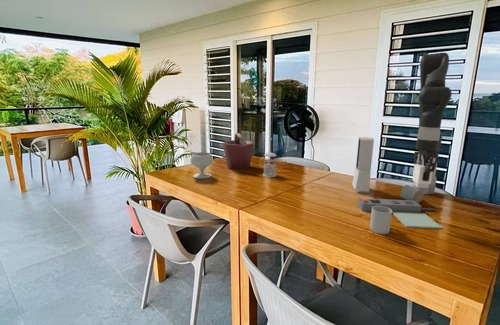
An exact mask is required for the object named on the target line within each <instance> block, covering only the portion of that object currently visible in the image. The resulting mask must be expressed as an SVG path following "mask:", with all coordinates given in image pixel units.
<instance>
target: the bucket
mask: <svg viewBox="0 0 500 325" xmlns="http://www.w3.org/2000/svg"><path fill="white" fill-rule="evenodd" d="M222 147H223V152H224V156H225V162H226V166H227V168H228V169H230V170H237V171H238V170H239V171H242V170H248V169H250V166H251V162H252V156H253V152H254V141H253V140H252V141H251V140H246V139H244V137H243V135H242V134H241V133H239V132H237V133H235V134H234V140H233V139H232V140H226V141H223V142H222Z"/></svg>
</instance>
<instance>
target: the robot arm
mask: <svg viewBox="0 0 500 325" xmlns="http://www.w3.org/2000/svg"><path fill="white" fill-rule="evenodd" d="M419 62H420V63H419V74H420V76H419V77H420V92H419V94H418V102H419V104H418V105H419V108H418V109H419V110H418V111H419V112H418V116H419V117H418V130H417V137H416V145H415V149H416V150H418V151H414V156H413V159H414V160H413V164H414V165H415V164H422V166H423V167H424V172H423V178H422V180H423V181H429V176H430V172H433V174H432V180H431V184H429V186H428V188H421V187H417V186H415V185H414V184H413V187H414V188H417V189H419V190H421V191H422V192H423V195H431V194H432V195H434V194H435V190H436V184H437V176H436V173H437V167H438V160H439V155H440V149H441V146H442V142H443V139H442V138H443V136H442V134H441V125H442V119H443V116H444V112H445V110H446V108H447V106H448V104H449V102H450V100H451V98H452V94H453V93H452V90H451V88H450V87H447V86H446V78H447V73H448V70H449V66H450V57H449V54H448V53H447V52H437V53H428V54H423V55H422V56H421V58H420V61H419ZM426 166H427V169H426ZM431 167H432V169H431Z"/></svg>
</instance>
